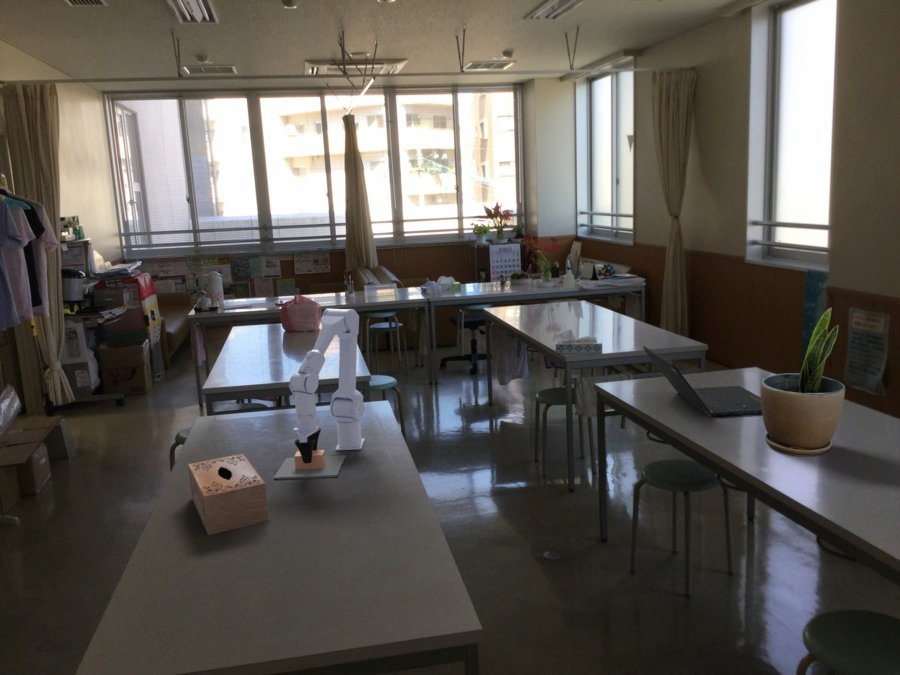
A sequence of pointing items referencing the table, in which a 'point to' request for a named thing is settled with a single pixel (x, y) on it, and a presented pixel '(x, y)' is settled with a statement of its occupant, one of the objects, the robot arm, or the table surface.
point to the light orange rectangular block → (317, 460)
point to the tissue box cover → (228, 493)
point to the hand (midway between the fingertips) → (310, 458)
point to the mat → (328, 470)
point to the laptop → (709, 392)
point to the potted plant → (804, 400)
